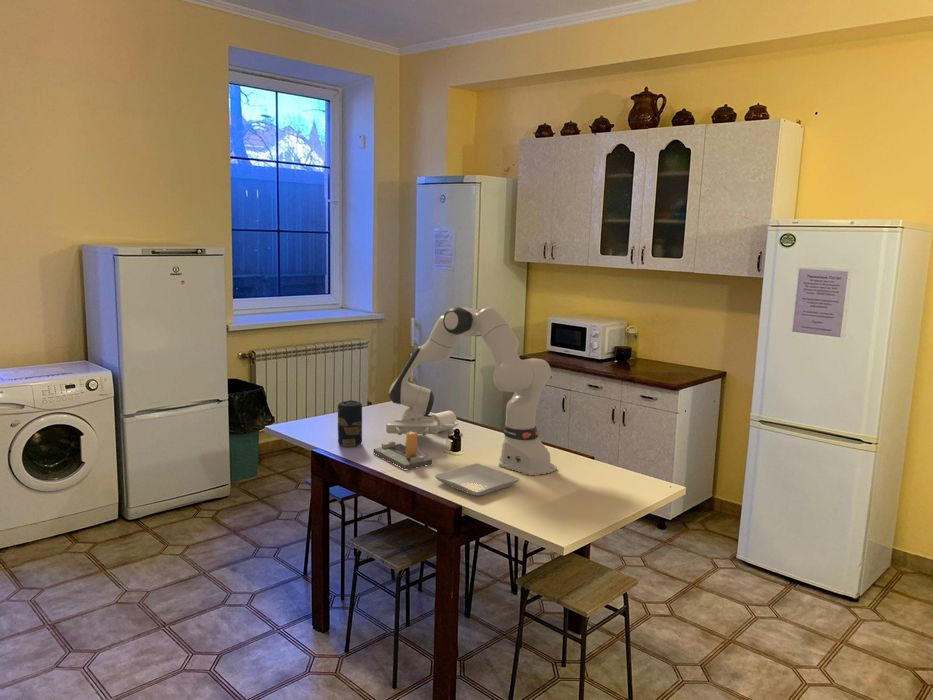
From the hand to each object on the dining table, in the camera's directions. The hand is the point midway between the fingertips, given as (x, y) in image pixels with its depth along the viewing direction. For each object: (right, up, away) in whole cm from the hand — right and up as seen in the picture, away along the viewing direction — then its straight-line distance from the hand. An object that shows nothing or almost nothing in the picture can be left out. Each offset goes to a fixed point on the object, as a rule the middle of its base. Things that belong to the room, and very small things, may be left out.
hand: (412, 433), depth 272 cm
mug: (+12, -3, +32) cm, 34 cm away
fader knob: (+1, -7, -11) cm, 13 cm away
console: (-3, -9, -6) cm, 11 cm away
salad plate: (+24, -15, -29) cm, 41 cm away
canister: (-25, -6, +10) cm, 28 cm away
